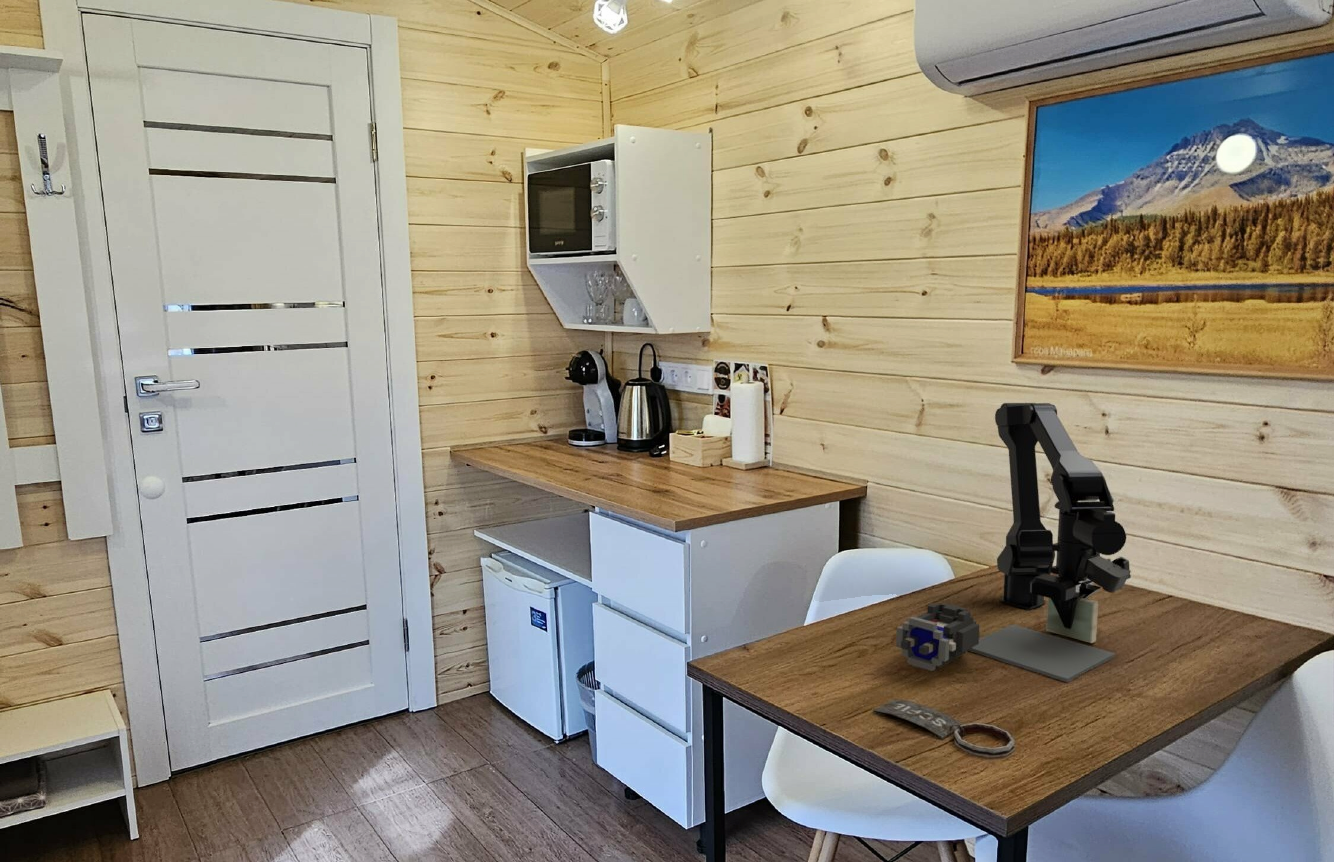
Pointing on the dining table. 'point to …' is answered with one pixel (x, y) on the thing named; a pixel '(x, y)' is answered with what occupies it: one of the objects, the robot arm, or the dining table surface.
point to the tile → (1075, 621)
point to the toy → (937, 636)
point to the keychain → (948, 727)
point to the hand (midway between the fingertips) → (1070, 626)
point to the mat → (1041, 652)
